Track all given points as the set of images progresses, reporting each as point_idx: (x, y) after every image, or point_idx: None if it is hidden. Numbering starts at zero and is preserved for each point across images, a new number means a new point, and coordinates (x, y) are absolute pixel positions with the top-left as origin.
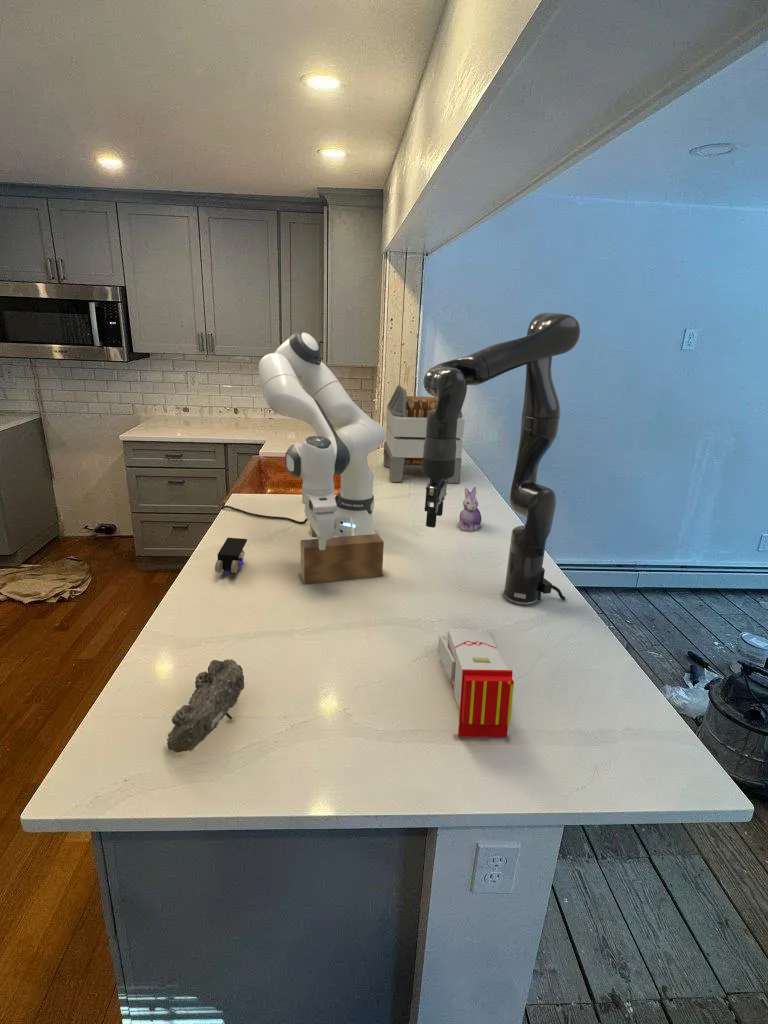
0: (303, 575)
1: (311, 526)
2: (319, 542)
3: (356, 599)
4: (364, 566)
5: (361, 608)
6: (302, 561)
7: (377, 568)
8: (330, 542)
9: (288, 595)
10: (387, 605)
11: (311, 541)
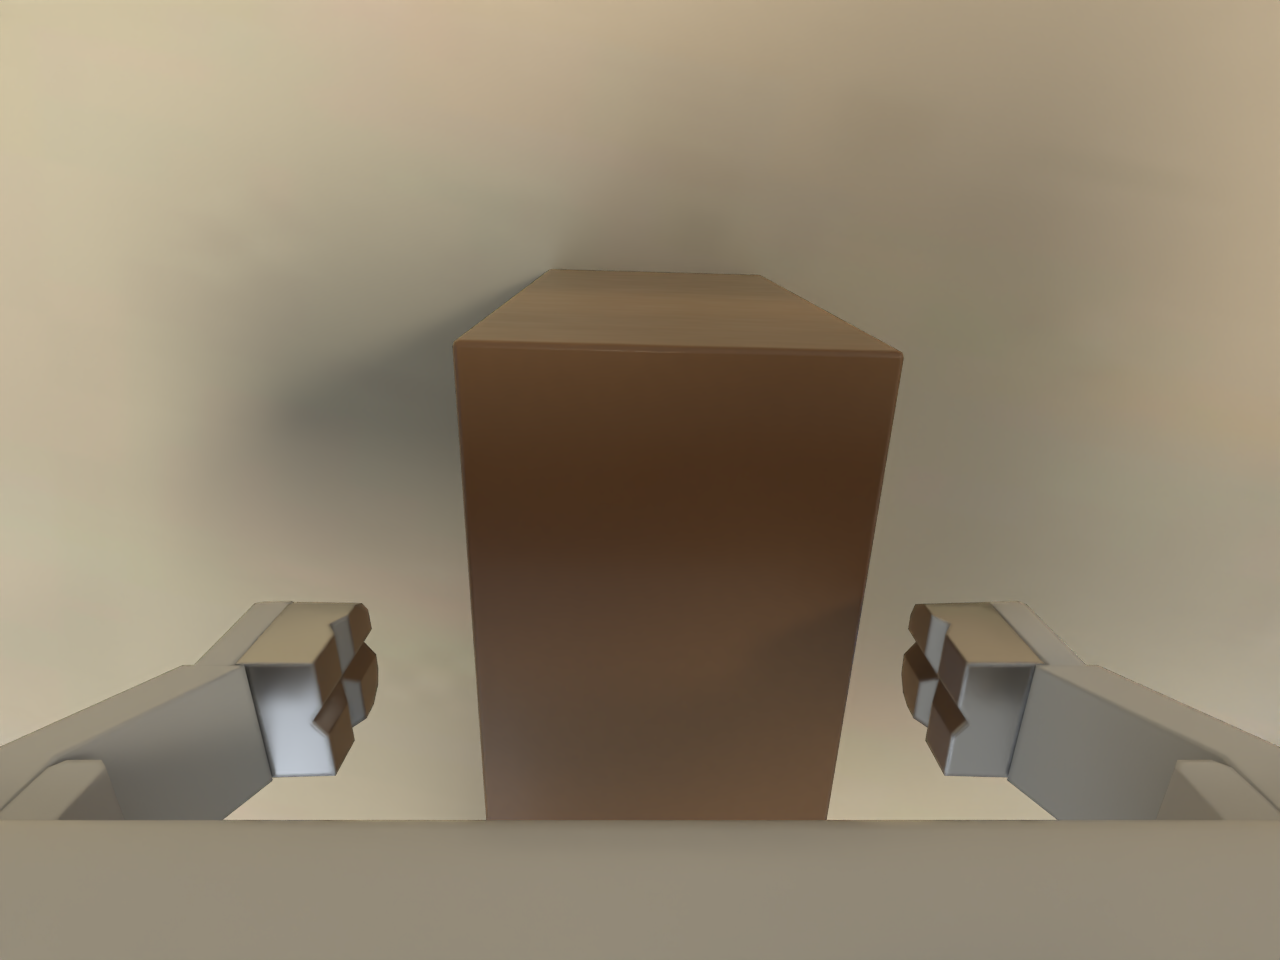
0: (586, 277)
1: (1129, 738)
2: (97, 705)
3: (200, 630)
4: None
5: (51, 627)
6: (650, 296)
7: None
8: (623, 808)
9: (315, 40)
10: None
11: (754, 544)
